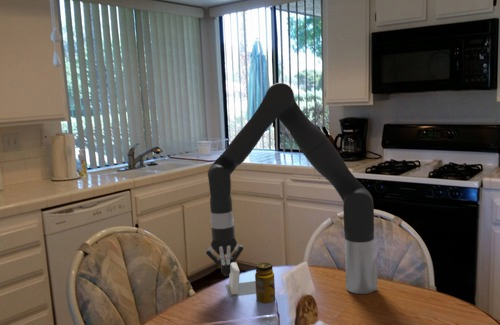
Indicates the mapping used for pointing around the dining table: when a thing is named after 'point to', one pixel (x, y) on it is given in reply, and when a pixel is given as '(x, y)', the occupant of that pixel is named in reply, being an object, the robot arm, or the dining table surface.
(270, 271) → the condiment
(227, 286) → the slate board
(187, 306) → the dining table surface
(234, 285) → the tile
